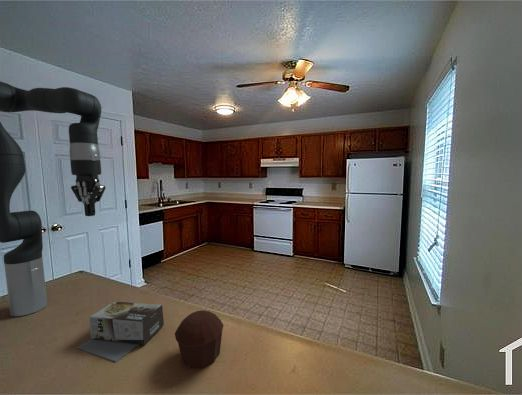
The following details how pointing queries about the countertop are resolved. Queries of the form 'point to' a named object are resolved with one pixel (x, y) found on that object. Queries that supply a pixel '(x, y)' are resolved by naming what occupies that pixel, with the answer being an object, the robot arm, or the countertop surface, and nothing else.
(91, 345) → the mat
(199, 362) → the muffin
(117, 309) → the coffee box
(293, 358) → the countertop surface
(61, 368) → the countertop surface
